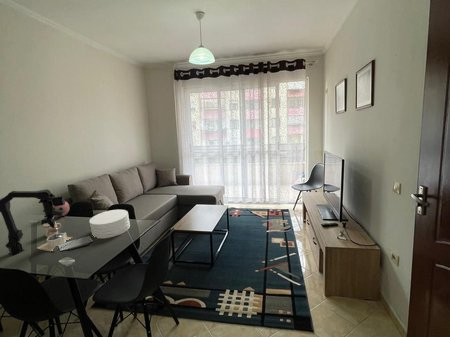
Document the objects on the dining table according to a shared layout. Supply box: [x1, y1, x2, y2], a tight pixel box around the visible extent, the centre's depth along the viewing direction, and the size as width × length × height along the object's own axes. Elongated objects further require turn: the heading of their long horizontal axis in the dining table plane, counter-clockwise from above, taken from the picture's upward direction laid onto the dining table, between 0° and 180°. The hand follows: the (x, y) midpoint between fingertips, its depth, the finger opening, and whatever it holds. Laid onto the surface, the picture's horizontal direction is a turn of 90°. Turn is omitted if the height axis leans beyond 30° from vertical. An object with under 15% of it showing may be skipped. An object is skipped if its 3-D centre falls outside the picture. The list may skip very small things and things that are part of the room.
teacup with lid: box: [42, 221, 62, 238], centre depth 204 cm, size 12×9×12 cm
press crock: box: [36, 232, 72, 252], centre depth 187 cm, size 18×18×6 cm
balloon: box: [53, 200, 70, 218], centre depth 239 cm, size 15×20×15 cm
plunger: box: [49, 226, 63, 240], centre depth 185 cm, size 8×8×6 cm
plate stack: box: [89, 209, 131, 239], centre depth 203 cm, size 28×28×12 cm
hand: (53, 227), depth 184 cm, fingers closed
